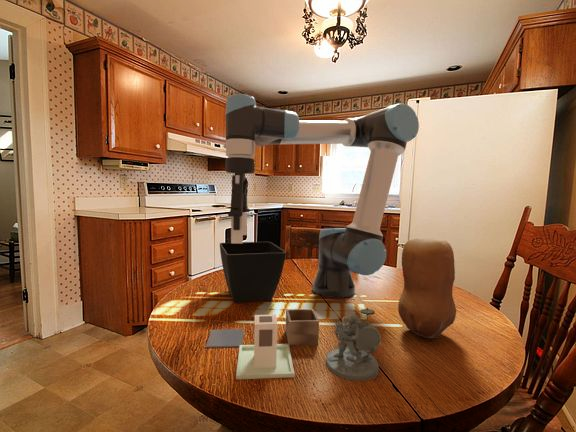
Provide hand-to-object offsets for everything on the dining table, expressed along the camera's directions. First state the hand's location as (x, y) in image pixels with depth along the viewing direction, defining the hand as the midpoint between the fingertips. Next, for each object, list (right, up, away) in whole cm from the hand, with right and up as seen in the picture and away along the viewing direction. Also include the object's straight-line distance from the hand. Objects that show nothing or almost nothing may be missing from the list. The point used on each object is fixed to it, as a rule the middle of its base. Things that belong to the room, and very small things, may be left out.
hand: (239, 238), depth 78 cm
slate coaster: (-2, -23, -8) cm, 25 cm away
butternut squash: (+48, -25, -3) cm, 54 cm away
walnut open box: (+16, -24, -7) cm, 29 cm away
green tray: (+8, -24, -17) cm, 31 cm away
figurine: (+26, -25, -17) cm, 40 cm away
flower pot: (0, -21, +22) cm, 31 cm away
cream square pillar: (+8, -24, -17) cm, 31 cm away
